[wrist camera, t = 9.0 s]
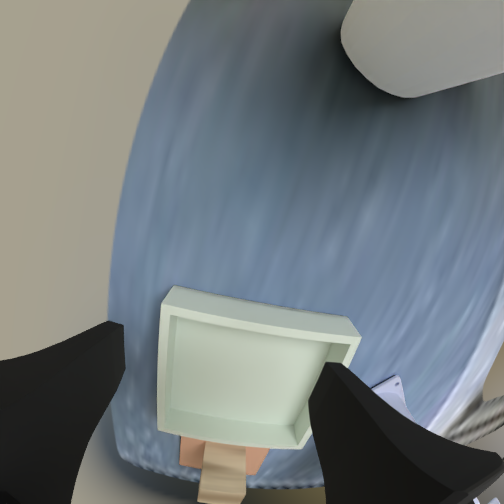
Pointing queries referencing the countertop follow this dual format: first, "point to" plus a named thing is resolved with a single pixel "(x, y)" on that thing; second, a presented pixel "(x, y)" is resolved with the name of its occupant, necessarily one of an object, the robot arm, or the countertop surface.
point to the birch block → (223, 474)
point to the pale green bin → (243, 368)
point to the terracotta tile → (195, 448)
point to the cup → (424, 43)
